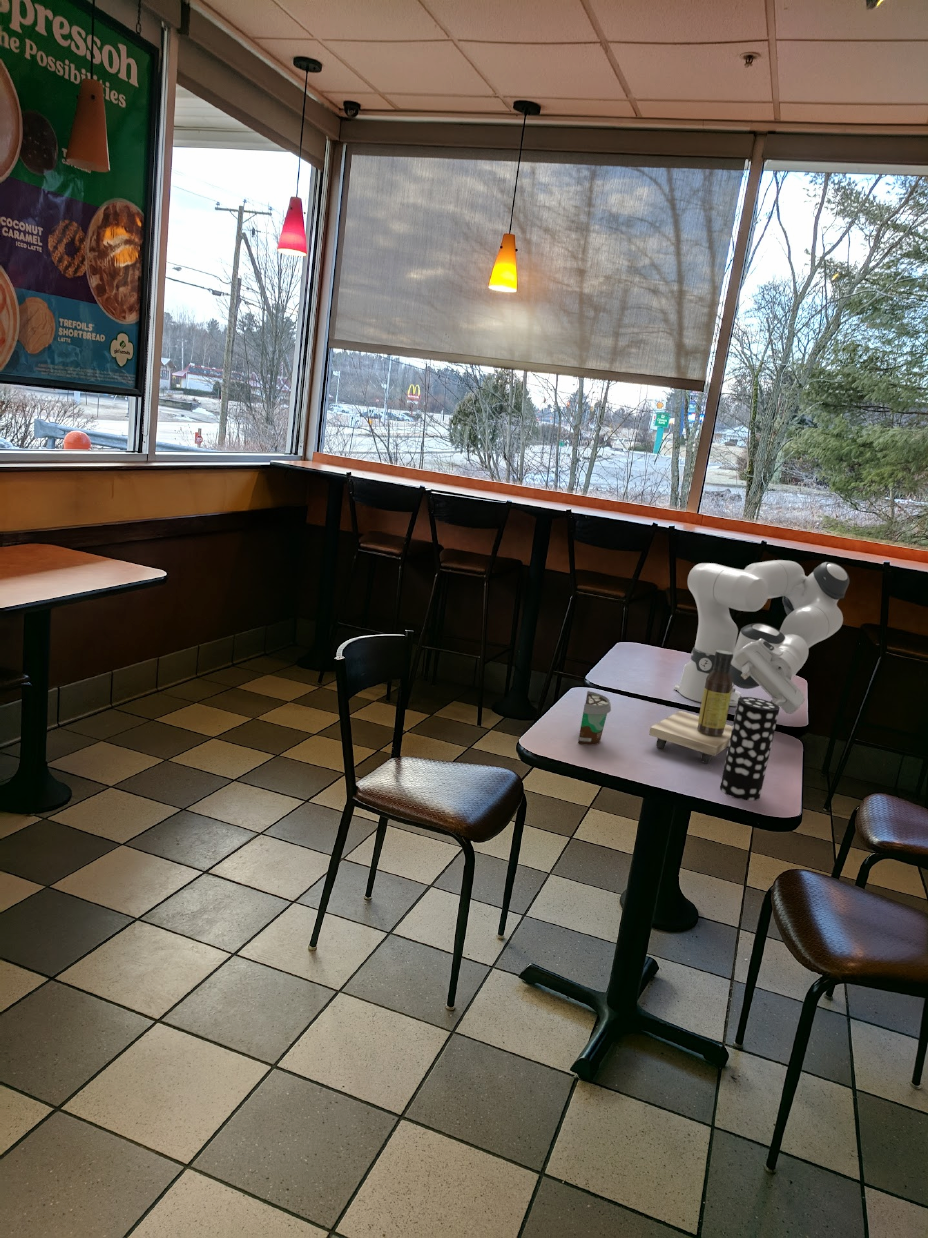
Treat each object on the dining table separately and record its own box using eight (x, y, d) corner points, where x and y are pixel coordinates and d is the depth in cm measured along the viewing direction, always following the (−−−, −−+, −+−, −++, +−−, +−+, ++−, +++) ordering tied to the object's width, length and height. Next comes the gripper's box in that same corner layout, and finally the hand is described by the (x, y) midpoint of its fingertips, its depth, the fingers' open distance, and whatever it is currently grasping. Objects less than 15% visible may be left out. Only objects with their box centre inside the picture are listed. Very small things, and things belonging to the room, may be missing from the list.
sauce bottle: (728, 737, 204) (745, 656, 200) (708, 737, 202) (724, 656, 198) (710, 727, 210) (726, 648, 206) (690, 728, 207) (706, 648, 203)
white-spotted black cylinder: (768, 800, 182) (788, 710, 178) (734, 800, 179) (753, 709, 175) (745, 784, 190) (763, 697, 185) (712, 784, 187) (730, 696, 183)
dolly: (676, 729, 222) (679, 710, 220) (737, 748, 213) (742, 729, 212) (646, 746, 205) (650, 727, 204) (712, 768, 197) (716, 747, 196)
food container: (604, 750, 199) (611, 709, 196) (577, 745, 200) (584, 704, 197) (606, 734, 210) (613, 695, 208) (581, 729, 211) (587, 690, 209)
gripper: (797, 705, 224) (779, 728, 214) (740, 647, 228) (720, 667, 218) (815, 692, 220) (798, 715, 210) (757, 633, 224) (737, 653, 214)
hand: (758, 690), depth 214 cm, fingers open, 8 cm apart
